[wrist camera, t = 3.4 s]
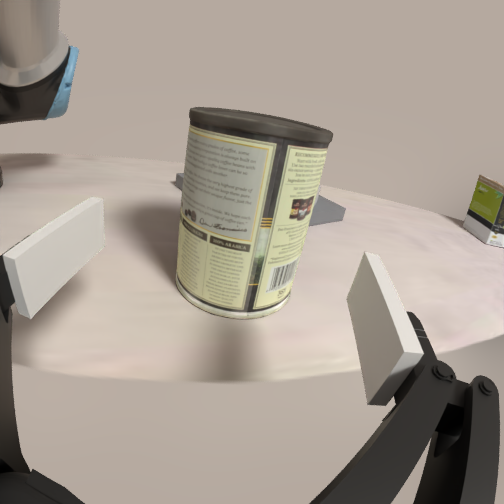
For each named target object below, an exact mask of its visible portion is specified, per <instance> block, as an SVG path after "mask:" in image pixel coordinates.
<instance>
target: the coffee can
mask: <svg viewBox="0 0 504 504" xmlns="http://www.w3.org/2000/svg"><path fill="white" fill-rule="evenodd" d="M189 118H190V126H189V134H188V143H187V150H186V159H185V168H184V178H183V188H182V199H181V209H180V224H179V239H178V257H177V271H176V284H177V287H178V289H179V291H180V292H181V293H182V294H183V296H184V297H185V298H186V299H187V300H188V301H189V302H191V303H192V304H193V305H195V306H197V307H198V308H200V309H202V310H204V311H207V312H210V313H212V314H215V315H219V316H224V317H228V318H235V319H253V318H259V317H264V316H267V315H269V314H272V313H274V312H276V311H278V310H279V309H281V308H282V307H283V306H284V305H285V304H286V302H287V301H288V299H289V297H290V292H291V287H292V283H293V280H294V277H295V273H296V270H297V266H298V262H299V259H300V255H301V252H302V248H303V244H304V241H305V237H306V233H307V229H308V226H309V222H310V218H311V215H312V211H313V207H314V203H315V199H316V195H317V191H318V187H319V183H320V179H321V174H322V170H323V166H324V162H325V158H326V153H327V149H328V145H329V143H330V142H331V141H332V137H333V133H332V132H331V131H329V130H326V129H323V128H320V127H317V126H314V125H309V124H306V123H303V122H298V121H294V120H290V119H286V118H281V117H276V116H271V115H265V114H260V113H253V112H247V111H240V110H231V109H222V108H204V107H195V108H191V109H190V112H189Z"/></svg>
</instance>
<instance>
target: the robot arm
mask: <svg viewBox="0 0 504 504" xmlns="http://www.w3.org/2000/svg"><path fill="white" fill-rule="evenodd" d="M59 8H60V0H0V124H7V123H14V122H22V121H32V120H46V119H48V118H56V117H60V116H62V115H63V114H64V113H65V112H66V110H67V108H68V102H69V97H70V91H71V85H72V80H73V76H74V71H75V66H76V62H77V57H78V53H79V49H78V48H77V47H73V46H69V45H68V39H67V37H66V35H65V34H64V33H63V32H61V31H60V30H58V29H59V28H58V27H59ZM2 183H3V180H2V170H1V167H0V187H1V185H2ZM104 247H105V234H104V199H103V198H97V197H90V198H89V199H87V200H85V201H83V202H82V203H80V204H78V205H77V206H75V207H73V208H72V209H70V210H69V211H67V212H65V213H64V214H62V215H60V216H59V217H57V218H56V219H54V220H53V221H51V222H49V223H48V224H46V225H45V226H43V227H42V228H40V229H39V230H37V231H36V232H34V233H33V234H31V235H29V236H27V237H26V238H24V239H23V240H22V241H21V242H19V243H17V244H16V245H15V246H13V247H12V248H10V249H9V250H8V251H6V252H5V253H4V254H2V255H1V256H0V504H85V503H83V502H82V501H80V499H78V498H77V497H76V496H75V495H73V494H72V493H71V492H70V491H68V490H67V489H66V488H65V487H63V486H61V485H60V484H58V483H56V482H54V481H52V480H51V479H49V478H47V477H45V476H44V475H42V474H41V473H39V472H37V471H36V470H34V469H32V471H31V472H30V469H29V467H28V465H27V463H26V462H25V460H24V458H23V455H22V453H21V448H20V444H19V437H18V431H17V424H16V417H15V408H14V398H13V386H12V361H11V335H12V310H11V307H10V306H11V305H12V304H13V303H14V302H15V303H16V306H17V310H18V313H19V314H21V315H23V316H25V317H27V318H29V319H31V318H32V317H33V316H34V315H35V314H36V313H37V312H38V311H39V310H40V309H41V308H42V307H43V306H44V305H45V304H46V303H47V302H48V300H49V299H50V298H51V297H52V296H53V295H54V294H55V293H56V292H57V291H58V290H59V289H60V288H61V287H62V286H63V285H64V284H65V283H66V282H67V281H68V280H70V279H71V278H72V277H73V276H74V275H75V274H76V273H77V272H78V271H79V270H80V269H81V268H82V267H83V266H84V265H85V264H86V263H87V262H88V261H90V260H91V259H92V258H93V257H94V256H95V255H96V254H97V253H98V252H99V251H100V250H102V249H103V248H104ZM347 303H348V307H349V311H350V316H351V320H352V325H353V330H354V334H355V339H356V344H357V349H358V354H359V359H360V364H361V370H362V375H363V381H364V386H365V392H366V398H367V404H368V405H381V406H386V405H387V404H388V402H389V401H390V400H391V398H392V397H393V396H394V399H395V403H396V405H395V406H394V407H393V408H392V410H391V411H390V412H389V413H388V414H387V415H386V417H385V418H384V419H383V420H382V421H383V422H382V423H381V424H380V426H379V427H378V428H377V430H376V431H375V432H374V434H373V435H372V436H371V437H370V439H369V440H368V441H367V442H366V443H365V445H364V446H363V447H362V448H361V449H360V451H359V452H358V453H357V454H356V455H355V457H354V458H353V459H352V460H351V461H350V462H349V463H348V464H347V466H346V467H345V468H344V469H343V470H342V471H341V472H340V473H339V474H338V475H337V476H336V477H335V478H334V480H333V481H332V482H331V483H330V484H329V485H328V486H327V487H326V488H325V489H324V490H323V491H322V492H321V493H320V494H319V495H318V496H317V497H316V498H315V499H314V500H312V501H311V503H310V504H391V502H392V501H393V500H394V498H395V497H396V495H397V494H398V492H399V491H400V489H401V488H402V486H403V485H404V483H405V482H406V480H407V479H408V477H409V475H410V474H411V472H412V470H413V469H414V467H415V465H416V464H417V462H418V460H419V459H420V457H421V455H422V453H423V451H424V450H425V448H426V446H427V444H428V442H429V440H430V438H431V442H430V446H429V451H428V455H427V459H426V463H425V467H424V470H423V474H422V477H421V481H420V484H419V487H418V491H417V494H416V497H415V500H414V503H413V504H494V501H495V493H496V485H497V477H498V464H499V445H500V414H499V393H498V390H497V387H496V386H495V384H494V383H493V382H492V380H490V379H489V378H487V377H485V376H481V375H480V376H476V377H475V378H474V379H473V381H472V382H471V383H470V384H468V383H465V382H462V381H459V380H457V379H456V376H455V373H454V371H453V370H452V368H451V367H449V366H448V365H447V364H446V363H444V362H442V361H439V360H437V358H436V356H435V353H434V351H433V348H432V346H431V344H430V342H429V339H428V338H427V335H426V333H425V331H424V328H423V326H422V324H421V322H420V320H419V319H418V318H417V317H416V316H415V315H414V314H413V313H412V312H407V311H406V310H405V308H404V306H403V304H402V301H401V299H400V297H399V295H398V293H397V291H396V288H395V286H394V284H393V282H392V280H391V278H390V276H389V274H388V272H387V270H386V268H385V266H384V264H383V262H382V260H381V258H380V256H379V255H377V254H373V253H369V252H364V255H363V257H362V260H361V263H360V265H359V268H358V271H357V273H356V276H355V279H354V281H353V284H352V286H351V289H350V291H349V294H348V296H347Z"/></svg>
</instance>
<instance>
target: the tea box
mask: <svg viewBox="0 0 504 504" xmlns="http://www.w3.org/2000/svg"><path fill="white" fill-rule="evenodd" d="M463 228H465V229H466V230H467V231H469V232H470V233H471V234H473V235H474V236H475V237H477V238H478V239H479V240H481V241H482V242H484V243H485V244H488V245H493V246H498V247H503V248H504V185H503V184H501V183H498V182H496V181H494V180H492V179H489V178H487V177H484V176H482V175H479V178H478V181H477V185H476V188H475V191H474V194H473V198H472V201H471V204H470V207H469V209H468V212H467V215H466V218H465V221H464V224H463Z"/></svg>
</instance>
